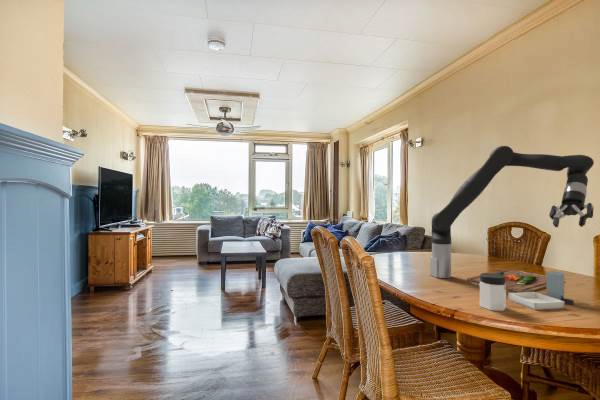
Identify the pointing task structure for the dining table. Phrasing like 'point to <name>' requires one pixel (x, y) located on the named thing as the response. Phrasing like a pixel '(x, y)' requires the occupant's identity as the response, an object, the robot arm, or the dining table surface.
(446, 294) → the dining table surface
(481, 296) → the jar
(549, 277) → the tall gray-blue pillar
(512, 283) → the chopping board
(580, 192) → the robot arm
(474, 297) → the dining table surface
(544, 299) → the parts tray
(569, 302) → the long charcoal bar
